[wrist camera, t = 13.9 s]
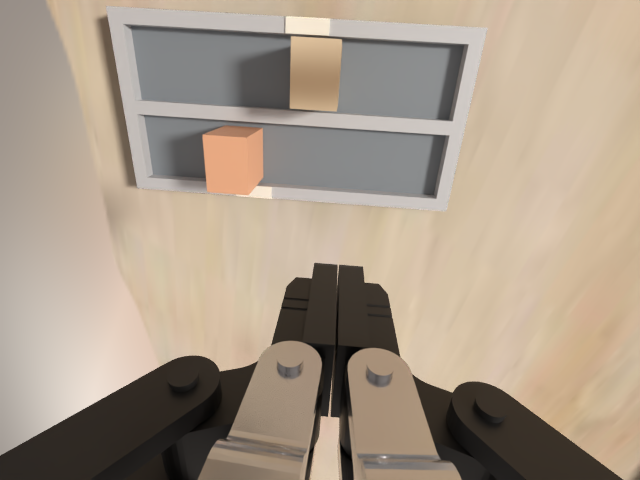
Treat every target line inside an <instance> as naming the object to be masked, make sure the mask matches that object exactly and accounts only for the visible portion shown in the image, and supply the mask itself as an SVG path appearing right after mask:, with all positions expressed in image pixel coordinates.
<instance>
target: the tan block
mask: <svg viewBox="0 0 640 480" xmlns="http://www.w3.org/2000/svg"><path fill="white" fill-rule="evenodd" d="M341 58H342V39H330V38H313V37H296V36H291V64H290V109H305V110H320V111H335V112H337V108H338V98H339V85H340V71H341Z"/></svg>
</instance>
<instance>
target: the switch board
mask: <svg viewBox="0 0 640 480" xmlns="http://www.w3.org/2000/svg"><path fill="white" fill-rule="evenodd" d="M106 10H107V15H108V21H109V27H110V33H111V38H112V44H113V50H114V56H115V62H116V67H117V73H118V79H119V85H120V91H121V96H122V102H123V108H124V114H125V120H126V125H127V131H128V137H129V143H130V149H131V154H132V160H133V166H134V172H135V178H136V183H137V188H142V189H155V190H168V191H181V192H195V193H208V194H221V195H235V196H242V197H255V198H268V199H272V198H275V199H288V200H301V201H315V202H328V203H341V204H355V205H368V206H381V207H395V208H408V209H421V210H435V211H446V210H447V206H448V201H449V197H450V193H451V188H452V184H453V179H454V175H455V170H456V166H457V161H458V157H459V153H460V148H461V144H462V139H463V135H464V130H465V126H466V122H467V117H468V113H469V108H470V104H471V99H472V95H473V90H474V86H475V82H476V77H477V73H478V68H479V64H480V59H481V55H482V51H483V46H484V42H485V37H486V33H487V28H480V27H463V26H445V25H428V24H410V23H393V22H376V21H358V20H341V19H328V18H311V17H293V16H271V15H254V14H236V13H219V12H202V11H184V10H167V9H149V8H132V7H115V6H106ZM291 36H296V37H313V38H330V39H342V58H341V71H340V85H339V98H338V108H337V112H335V111H320V110H305V109H290V64H291ZM225 125H228V126H243V127H257V128H263V178H262V180H261V181H260V182H259V183H258V184H257V186H256V187H255V188H254V189H253V191H252V192H251V193H250V194H249V195H237V194H224V193H211V192H207V183H206V172H205V160H204V148H203V136H202V135H203V134H205V133H208V132H210V131H213V130H215V129H218V128H220V127H223V126H225Z"/></svg>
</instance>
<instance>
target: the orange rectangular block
mask: <svg viewBox="0 0 640 480" xmlns="http://www.w3.org/2000/svg"><path fill="white" fill-rule="evenodd" d="M202 136H203V148H204V160H205V172H206V183H207V192H211V193H224V194H237V195H249V194H250V193H251V192H252V191H253V189H254V188H255V187H256V186H257V184H258V183H259V182H260V181H261V180H262V178H263V128H257V127H243V126H228V125H225V126H223V127H220V128H218V129H215V130H213V131H210V132H208V133H205V134H203V135H202Z"/></svg>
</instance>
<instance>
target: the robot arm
mask: <svg viewBox="0 0 640 480" xmlns="http://www.w3.org/2000/svg"><path fill="white" fill-rule="evenodd" d="M331 380H332V394H331V417H339V418H340V419H339V440H338V468H339V480H623V479H621V478H620V477H619V476H617V475H616V474H615V473H613V472H612V471H611V470H609V469H608V468H607V467H605V466H604V465H603V464H601V463H600V462H599V461H597V460H596V459H595V458H593V457H592V456H590V455H589V454H588V453H586V452H585V451H584V450H582V449H581V448H580V447H578V446H577V445H576V444H574V443H573V442H572V441H570V440H569V439H568V438H566V437H565V436H564V435H562V434H561V433H560V432H558V431H557V430H555V429H554V428H553V427H551V426H550V425H549V424H547V423H546V422H545V421H543V420H542V419H541V418H539V417H538V416H537V415H535V414H534V413H533V412H531V411H530V410H529V409H527V408H526V407H525V406H523V405H522V404H520V403H519V402H518V401H516V400H515V399H514V398H512V397H511V396H510V395H508V394H507V393H505V392H504V391H502V390H501V389H499V388H497V387H495V386H492V385H490V384H486V383H482V382H466V383H463V384H461V385H459V386H458V387H457V388H456V389H455V390H454V392H453V393H452V392H449V391H446V390H443V389H440V388H438V387H435V386H432V385H429V384H427V383H425V382H423V381H421V380H419V379H418V378H417V377H415V376H414V375H413V374H412V373H411V370H410V368H409V366H408V365H407V363H406V362H405V361H404V360H403V359H402V358H400V354H399V349H398V344H397V339H396V333H395V328H394V323H393V318H392V313H391V308H390V303H389V298H388V294H387V293H386V292H385V291H384V289H383V288H382V287H381V286H380V285H379V284H373V283H364V273H363V267H360V266H348V265H339V273H338V284H337V265H334V264H322V263H314V269H313V276H312V279H310V278H298V277H296V278H295V279H294V280H293V281H292V282H291V283H290V284H289V285H288V286H287V288H286V292H285V295H284V299H283V303H282V307H281V310H280V314H279V318H278V322H277V326H276V329H275V333H274V337H273V341H272V344H271V346H270V347H268V348H267V349H266V350H265V351H264V352H263V353H262V354H261V356H260V358H259V360H258V361H257V362H256V363H254V364H251V365H249V366H246V367H243V368H238V369H232V370H227V371H221V372H219V369H218V367H217V365H216V364H215V363H214V362H213V361H211V360H210V359H208V358H205V357H202V356H184V357H180V358H177V359H174V360H172V361H170V362H168V363H166V364H164V365H162V366H160V367H159V368H157V369H155V370H154V371H151V372H150V373H148V374H146V375H144V376H142V377H141V378H139V379H137V380H135V381H133V382H132V383H130V384H128V385H126V386H125V387H123V388H121V389H119V390H117V391H116V392H114V393H112V394H110V395H108V396H107V397H105V398H103V399H101V400H99V401H98V402H96V403H94V404H92V405H91V406H89V407H87V408H85V409H83V410H82V411H80V412H78V413H76V414H74V415H73V416H71V417H69V418H67V419H65V420H63V421H62V422H60V423H58V424H57V425H54V426H53V427H51V428H49V429H47V430H46V431H44V432H42V433H40V434H38V435H37V436H35V437H33V438H31V439H29V440H28V441H26V442H24V443H22V444H20V445H19V446H17V447H15V448H13V449H12V450H10V451H8V452H6V453H4V454H2V455H1V456H0V480H310V479H311V473H312V466H313V460H314V453H315V445H316V442H317V440H318V437H319V431H320V419H321V416H327V417H328V411H329V401H330V390H331Z"/></svg>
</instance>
